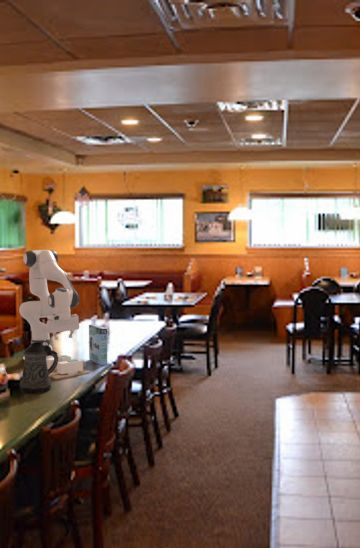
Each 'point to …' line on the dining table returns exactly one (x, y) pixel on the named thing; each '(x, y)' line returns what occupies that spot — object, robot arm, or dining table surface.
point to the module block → (63, 358)
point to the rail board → (66, 368)
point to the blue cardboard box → (98, 344)
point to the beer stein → (37, 369)
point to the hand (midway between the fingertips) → (63, 338)
